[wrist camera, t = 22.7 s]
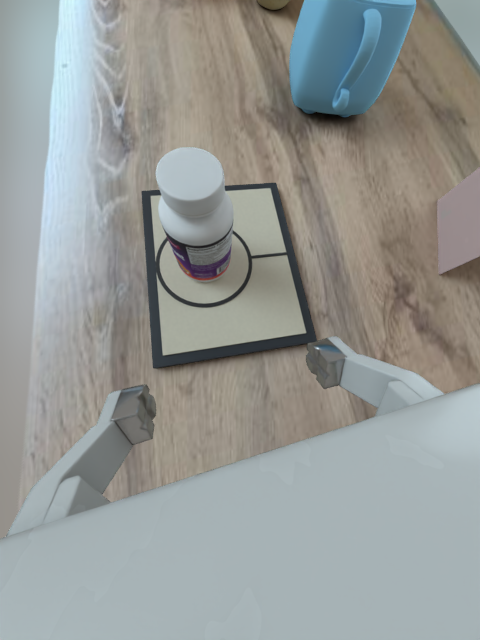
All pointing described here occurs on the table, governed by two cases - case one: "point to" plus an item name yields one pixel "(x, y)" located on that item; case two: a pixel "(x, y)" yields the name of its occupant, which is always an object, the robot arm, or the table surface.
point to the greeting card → (459, 224)
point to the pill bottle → (196, 212)
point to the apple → (273, 3)
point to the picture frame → (227, 287)
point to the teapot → (345, 52)
